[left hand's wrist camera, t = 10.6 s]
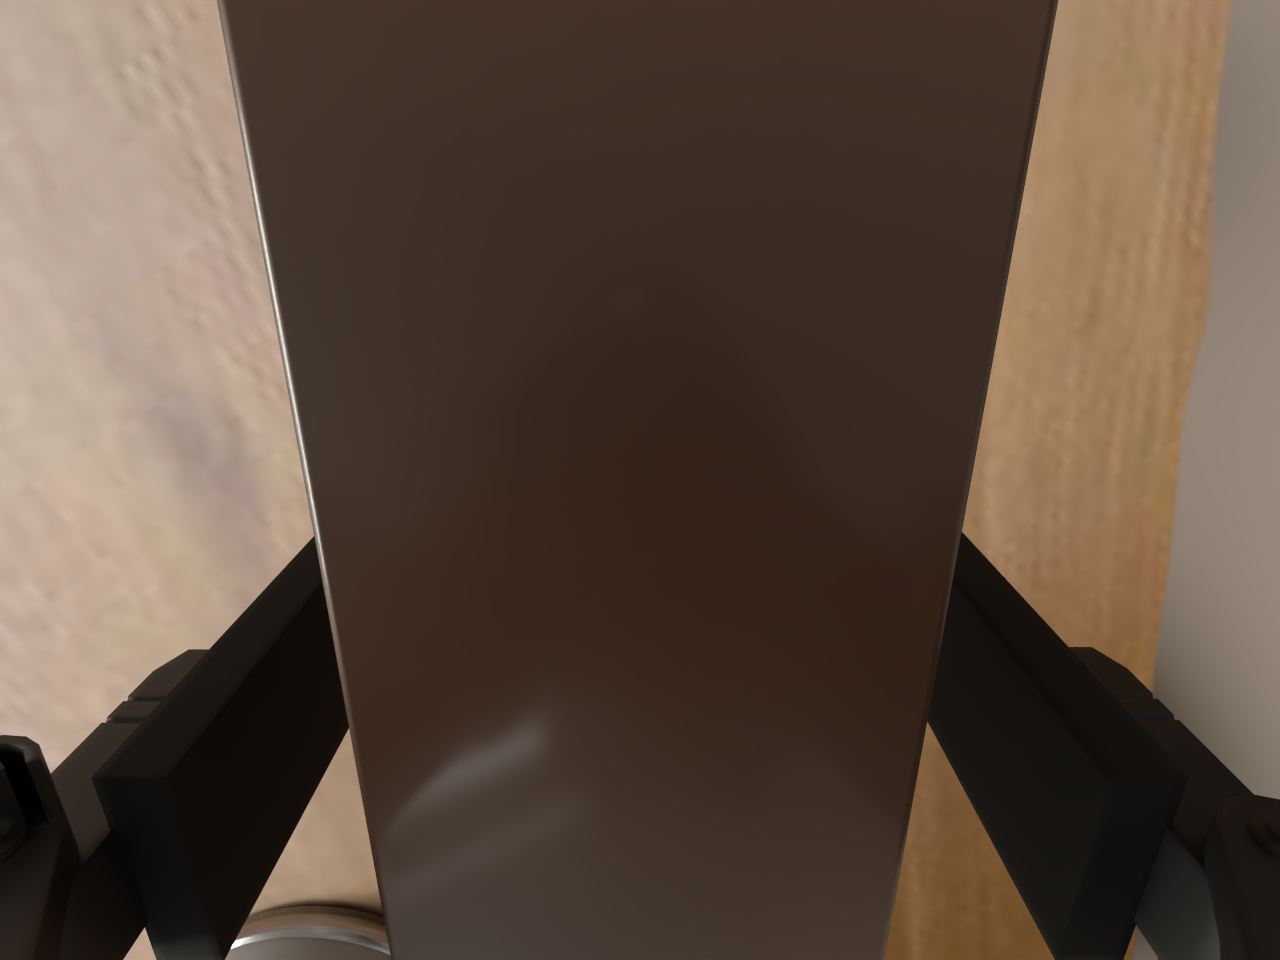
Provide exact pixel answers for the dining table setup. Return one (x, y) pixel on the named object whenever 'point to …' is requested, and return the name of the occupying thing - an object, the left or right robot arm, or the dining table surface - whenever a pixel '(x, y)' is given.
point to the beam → (637, 438)
